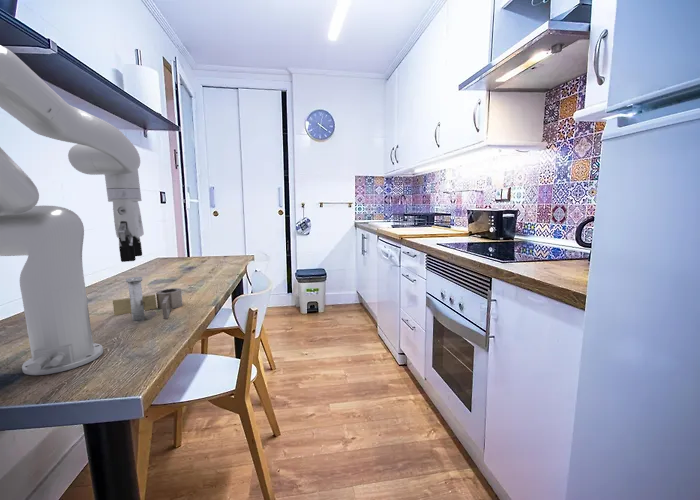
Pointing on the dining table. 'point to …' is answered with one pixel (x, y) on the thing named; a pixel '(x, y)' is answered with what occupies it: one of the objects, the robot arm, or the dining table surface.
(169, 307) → the hinge leaf
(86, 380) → the dining table surface
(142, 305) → the pin
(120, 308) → the hinge leaf
